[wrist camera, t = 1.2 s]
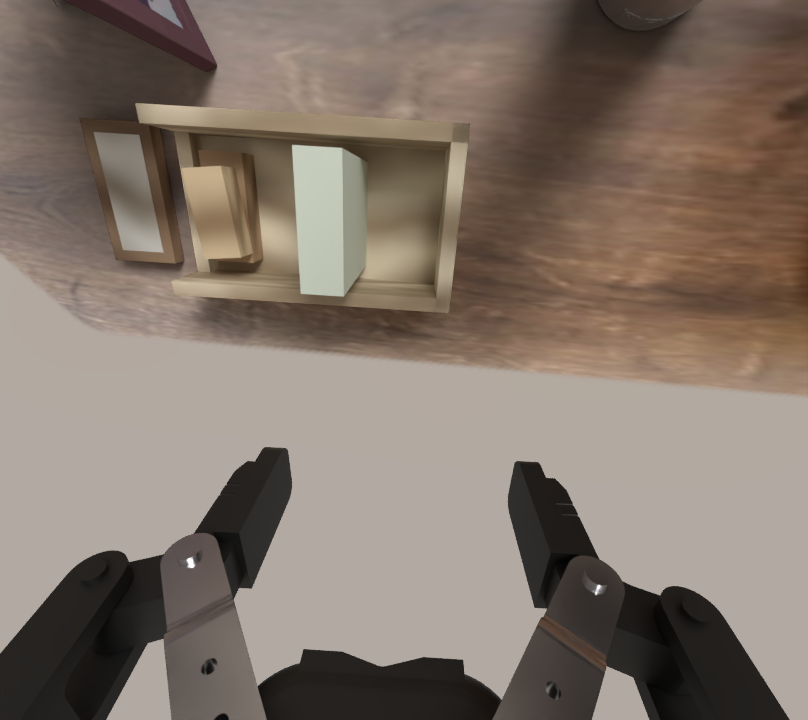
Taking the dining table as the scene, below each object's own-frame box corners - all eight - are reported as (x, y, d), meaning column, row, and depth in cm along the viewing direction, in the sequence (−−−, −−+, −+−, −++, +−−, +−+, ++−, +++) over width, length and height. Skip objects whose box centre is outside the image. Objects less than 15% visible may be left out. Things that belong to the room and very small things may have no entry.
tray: (191, 120, 33) (135, 103, 27) (460, 137, 33) (470, 123, 26) (215, 277, 39) (174, 294, 32) (443, 292, 39) (448, 313, 32)
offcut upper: (198, 169, 31) (180, 168, 29) (235, 167, 31) (220, 165, 29) (218, 254, 34) (204, 259, 32) (252, 253, 34) (241, 257, 32)
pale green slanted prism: (334, 160, 33) (291, 144, 22) (367, 162, 33) (342, 147, 22) (335, 263, 37) (300, 293, 26) (366, 265, 37) (343, 296, 26)
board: (93, 120, 33) (78, 117, 32) (159, 124, 33) (147, 122, 32) (126, 257, 38) (115, 259, 37) (184, 260, 38) (175, 263, 37)
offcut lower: (213, 152, 33) (198, 149, 31) (253, 155, 33) (241, 152, 31) (227, 256, 37) (214, 260, 35) (263, 258, 37) (253, 262, 34)
